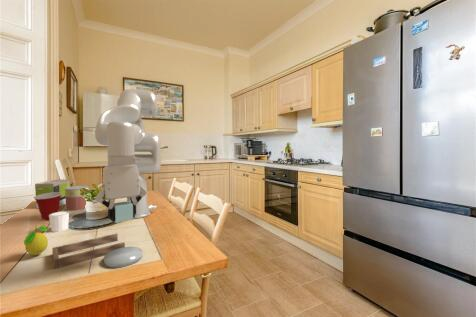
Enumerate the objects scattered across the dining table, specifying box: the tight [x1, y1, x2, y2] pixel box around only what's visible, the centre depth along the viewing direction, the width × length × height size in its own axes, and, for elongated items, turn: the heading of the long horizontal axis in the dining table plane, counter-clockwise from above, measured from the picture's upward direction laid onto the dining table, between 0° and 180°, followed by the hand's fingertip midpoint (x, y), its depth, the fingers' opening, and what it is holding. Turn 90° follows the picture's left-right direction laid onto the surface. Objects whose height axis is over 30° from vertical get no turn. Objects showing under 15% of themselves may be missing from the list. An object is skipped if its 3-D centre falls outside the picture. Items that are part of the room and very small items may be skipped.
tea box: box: [34, 178, 71, 210], centre depth 136 cm, size 15×10×15 cm
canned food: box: [65, 185, 90, 212], centre depth 131 cm, size 11×11×12 cm
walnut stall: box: [52, 233, 126, 270], centre depth 77 cm, size 19×11×2 cm, turn 131°
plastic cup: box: [33, 192, 62, 221], centre depth 112 cm, size 11×11×12 cm
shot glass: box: [49, 211, 70, 233], centre depth 98 cm, size 7×7×7 cm
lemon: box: [23, 225, 49, 256], centre depth 75 cm, size 7×6×10 cm
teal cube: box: [114, 200, 134, 224], centre depth 73 cm, size 5×5×5 cm
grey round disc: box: [103, 246, 143, 269], centre depth 73 cm, size 11×11×2 cm
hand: (122, 218), depth 72 cm, fingers closed on teal cube, 5 cm apart
